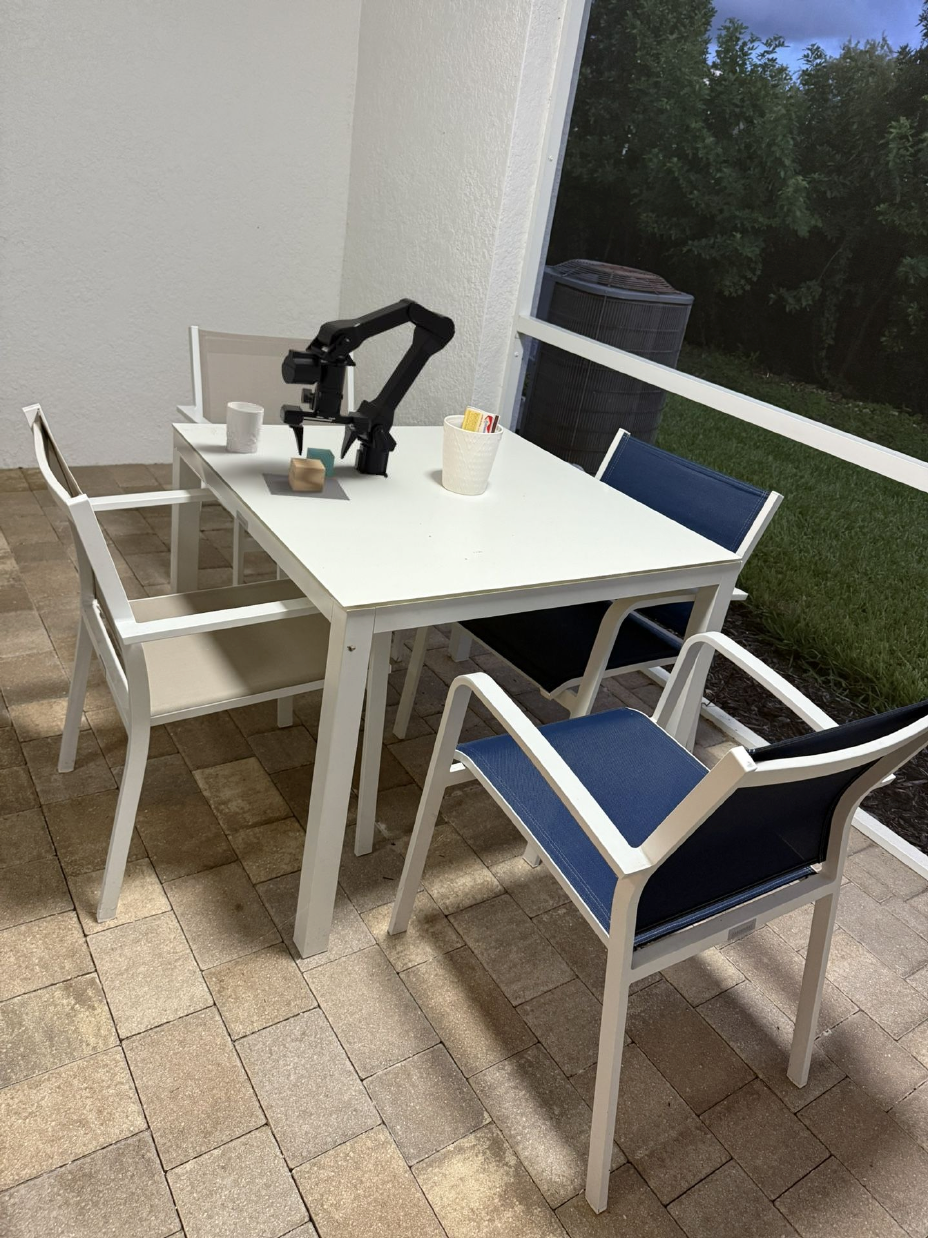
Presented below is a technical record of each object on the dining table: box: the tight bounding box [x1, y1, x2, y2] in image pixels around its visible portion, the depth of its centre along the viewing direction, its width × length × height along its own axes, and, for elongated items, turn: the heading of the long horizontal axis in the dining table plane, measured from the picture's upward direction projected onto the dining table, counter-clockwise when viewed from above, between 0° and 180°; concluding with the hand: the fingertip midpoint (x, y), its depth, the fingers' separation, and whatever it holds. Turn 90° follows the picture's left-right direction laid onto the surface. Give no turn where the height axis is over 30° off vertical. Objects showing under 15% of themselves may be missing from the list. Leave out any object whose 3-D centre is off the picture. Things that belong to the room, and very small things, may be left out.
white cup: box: [225, 401, 265, 455], centre depth 202 cm, size 8×8×10 cm
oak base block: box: [288, 457, 326, 492], centre depth 188 cm, size 6×6×5 cm
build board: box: [261, 472, 351, 501], centre depth 189 cm, size 16×13×1 cm
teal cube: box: [305, 447, 336, 477], centre depth 199 cm, size 5×5×5 cm
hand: (320, 456), depth 199 cm, fingers open, 9 cm apart
